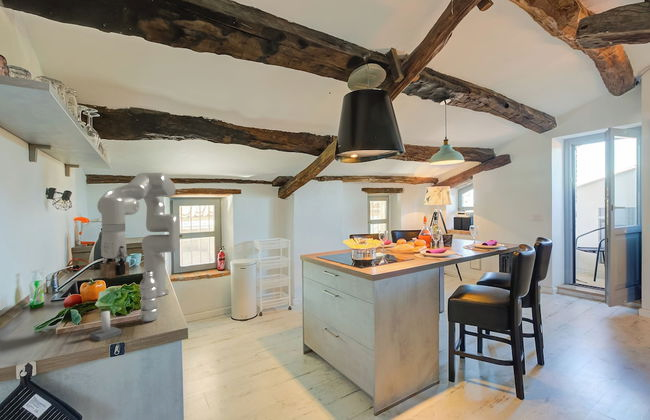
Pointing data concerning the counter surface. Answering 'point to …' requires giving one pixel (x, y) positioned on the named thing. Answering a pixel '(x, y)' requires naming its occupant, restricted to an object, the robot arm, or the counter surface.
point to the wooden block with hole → (112, 270)
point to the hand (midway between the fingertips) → (115, 273)
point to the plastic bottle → (148, 297)
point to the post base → (105, 335)
